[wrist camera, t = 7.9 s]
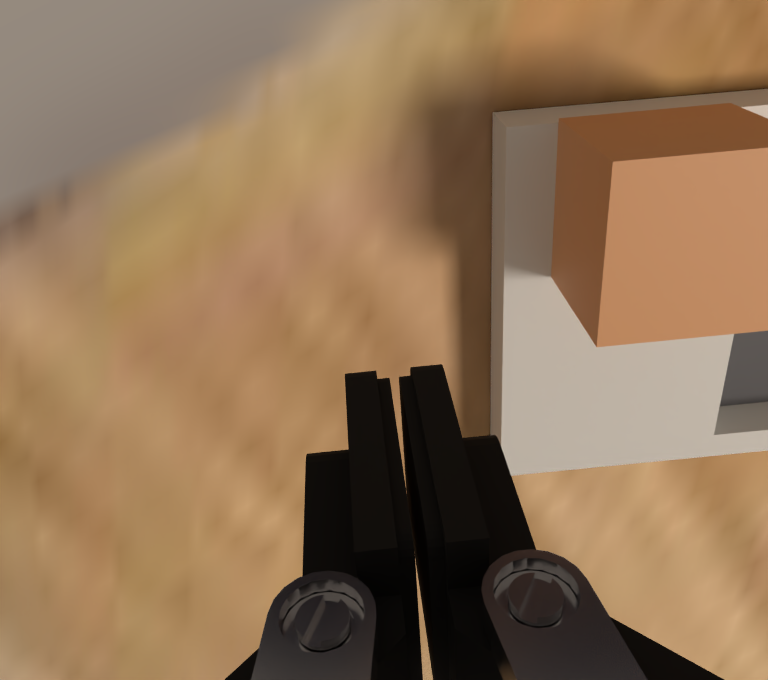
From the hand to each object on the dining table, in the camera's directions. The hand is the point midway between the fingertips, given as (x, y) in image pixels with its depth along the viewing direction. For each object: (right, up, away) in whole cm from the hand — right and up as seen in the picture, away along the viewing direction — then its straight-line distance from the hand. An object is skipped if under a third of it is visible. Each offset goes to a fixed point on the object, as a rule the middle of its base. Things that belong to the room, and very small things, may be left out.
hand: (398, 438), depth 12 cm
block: (+7, +6, +9) cm, 13 cm away
